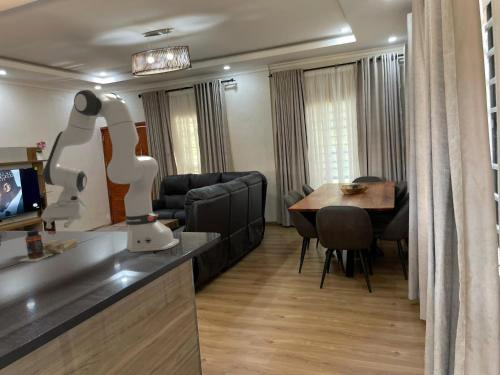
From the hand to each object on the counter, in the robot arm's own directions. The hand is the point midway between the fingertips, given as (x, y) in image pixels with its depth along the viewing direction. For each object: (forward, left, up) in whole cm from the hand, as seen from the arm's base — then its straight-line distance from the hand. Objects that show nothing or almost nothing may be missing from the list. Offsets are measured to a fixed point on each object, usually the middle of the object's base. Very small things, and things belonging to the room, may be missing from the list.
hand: (57, 227), depth 175 cm
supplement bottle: (+1, +13, -10) cm, 16 cm away
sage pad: (+1, +13, -10) cm, 17 cm away
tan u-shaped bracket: (+1, +1, -10) cm, 10 cm away
